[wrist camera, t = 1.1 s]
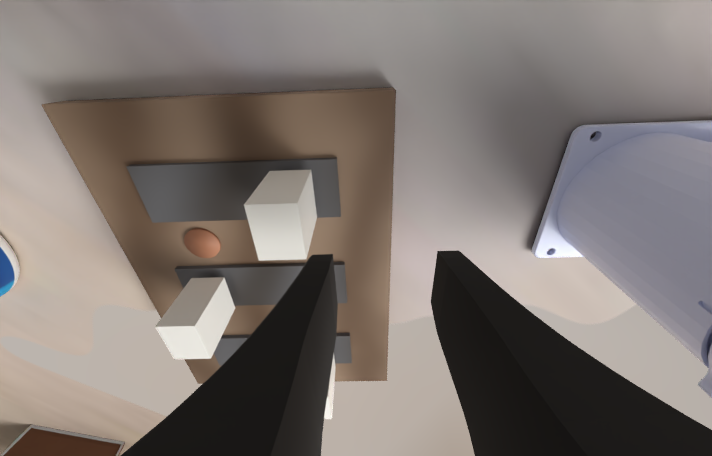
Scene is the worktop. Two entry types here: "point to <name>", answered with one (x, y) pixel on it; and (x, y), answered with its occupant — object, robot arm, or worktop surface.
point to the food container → (61, 444)
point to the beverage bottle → (7, 267)
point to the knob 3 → (330, 393)
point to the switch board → (231, 191)
